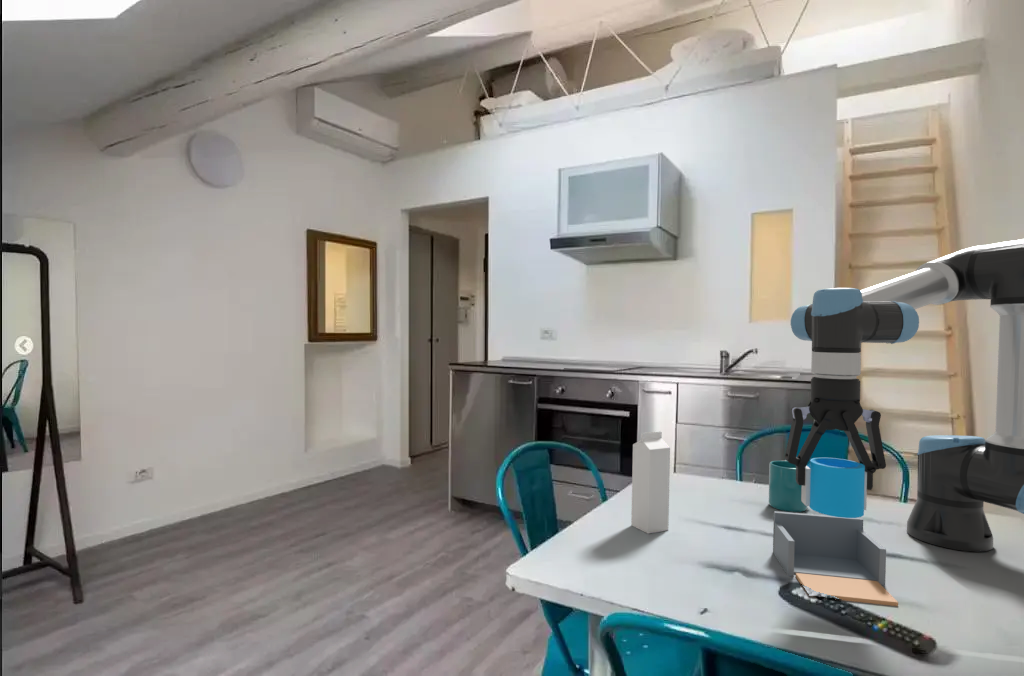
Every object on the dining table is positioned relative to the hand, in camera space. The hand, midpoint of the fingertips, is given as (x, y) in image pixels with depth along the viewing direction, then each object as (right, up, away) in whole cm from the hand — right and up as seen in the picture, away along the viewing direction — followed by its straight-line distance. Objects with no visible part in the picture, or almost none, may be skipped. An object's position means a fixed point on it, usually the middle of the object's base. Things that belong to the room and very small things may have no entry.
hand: (833, 505), depth 98 cm
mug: (-1, 0, 0) cm, 1 cm away
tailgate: (+2, -14, +3) cm, 15 cm away
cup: (+17, -15, +48) cm, 52 cm away
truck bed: (+3, -15, +8) cm, 17 cm away
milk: (-25, -14, +30) cm, 41 cm away
